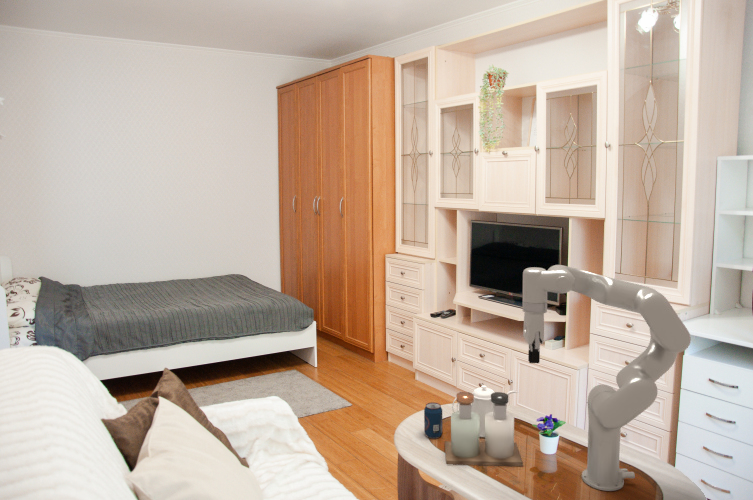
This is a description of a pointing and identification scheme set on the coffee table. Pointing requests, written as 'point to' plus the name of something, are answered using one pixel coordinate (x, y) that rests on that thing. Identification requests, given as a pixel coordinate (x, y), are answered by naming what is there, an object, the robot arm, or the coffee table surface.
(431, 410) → the soda can
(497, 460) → the walnut tray
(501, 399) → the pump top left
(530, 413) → the coffee table surface
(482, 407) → the coffeepot
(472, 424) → the pale green bottle
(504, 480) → the coffee table surface
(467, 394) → the brown rounded piece
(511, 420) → the frosted white jar
